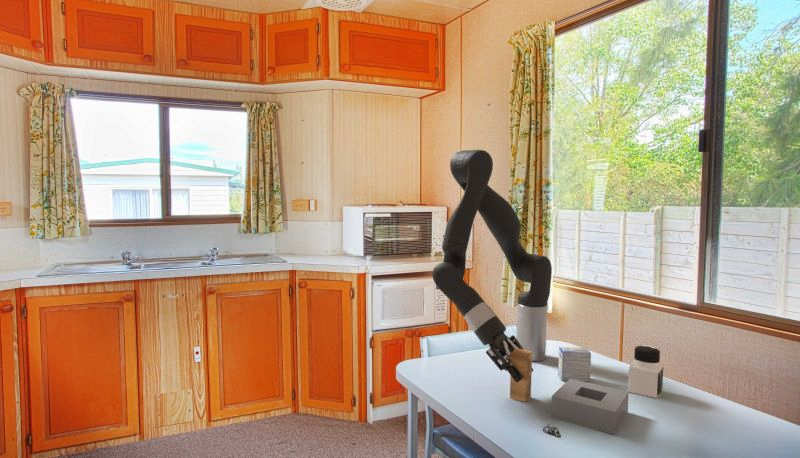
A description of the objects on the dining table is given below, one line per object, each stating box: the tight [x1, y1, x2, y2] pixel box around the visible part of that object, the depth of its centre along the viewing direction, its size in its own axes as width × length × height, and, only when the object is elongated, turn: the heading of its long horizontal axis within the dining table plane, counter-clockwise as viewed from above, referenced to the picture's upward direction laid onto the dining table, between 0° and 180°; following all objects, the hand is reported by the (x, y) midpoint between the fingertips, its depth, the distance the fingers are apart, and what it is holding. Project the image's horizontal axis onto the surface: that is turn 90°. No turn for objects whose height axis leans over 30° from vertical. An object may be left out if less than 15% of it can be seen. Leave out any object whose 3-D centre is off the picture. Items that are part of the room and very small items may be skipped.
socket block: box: [550, 379, 630, 435], centre depth 116 cm, size 14×14×5 cm
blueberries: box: [541, 423, 566, 438], centre depth 107 cm, size 7×8×2 cm
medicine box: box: [557, 346, 592, 383], centre depth 139 cm, size 8×4×9 cm, turn 84°
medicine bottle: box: [627, 344, 664, 399], centre depth 130 cm, size 7×7×12 cm
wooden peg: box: [509, 348, 533, 403], centre depth 125 cm, size 4×4×12 cm
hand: (525, 376), depth 124 cm, fingers open, 6 cm apart
